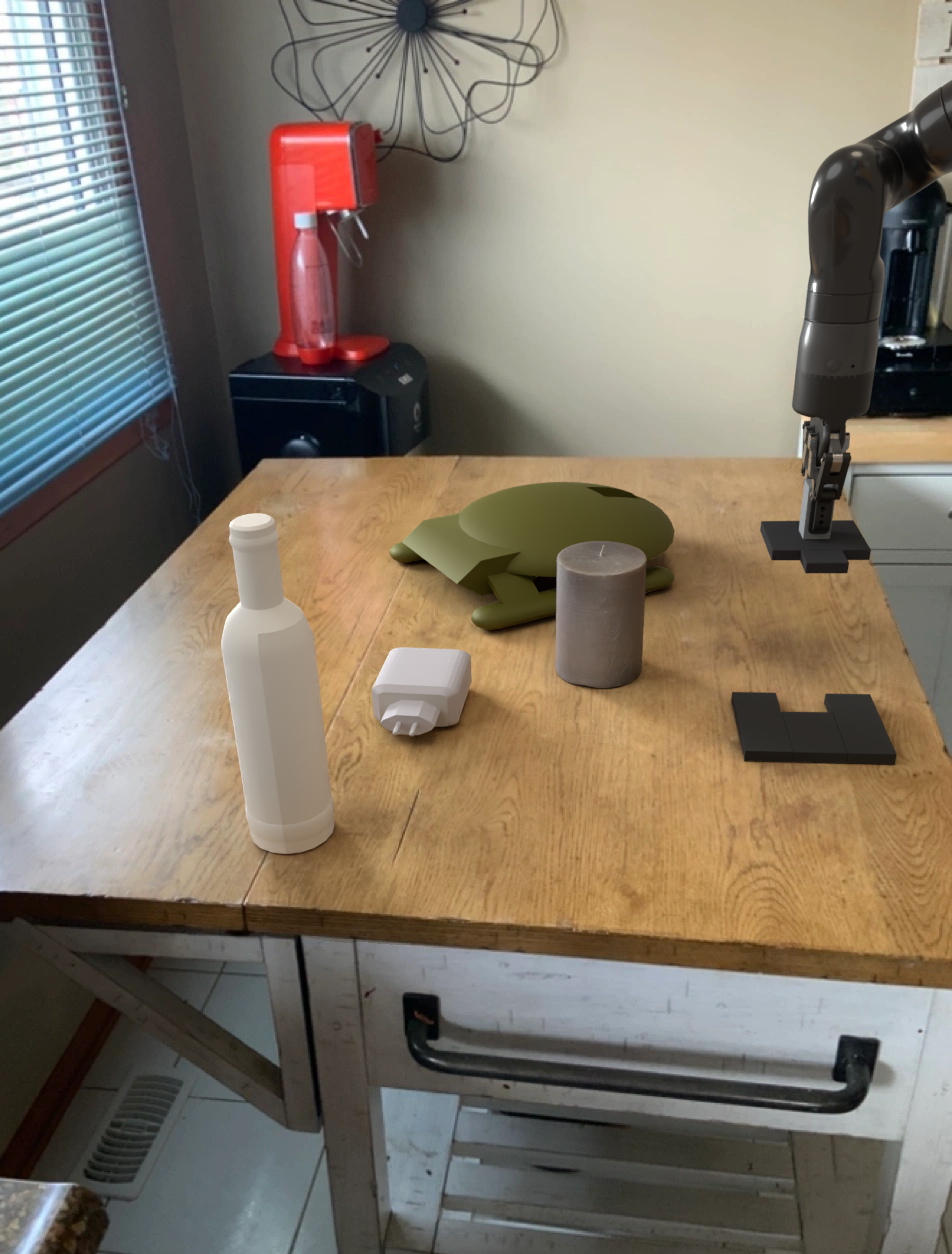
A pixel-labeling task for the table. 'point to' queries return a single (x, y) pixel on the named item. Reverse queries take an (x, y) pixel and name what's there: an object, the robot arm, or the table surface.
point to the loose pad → (815, 541)
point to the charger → (421, 689)
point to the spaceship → (533, 543)
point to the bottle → (275, 699)
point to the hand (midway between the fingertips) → (815, 526)
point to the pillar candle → (600, 613)
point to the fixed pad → (812, 730)
